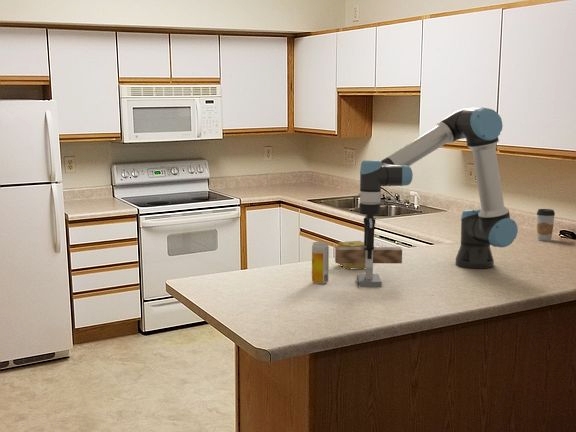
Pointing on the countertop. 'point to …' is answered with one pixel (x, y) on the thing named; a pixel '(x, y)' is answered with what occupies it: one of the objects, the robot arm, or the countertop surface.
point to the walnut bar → (359, 255)
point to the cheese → (352, 244)
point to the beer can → (320, 262)
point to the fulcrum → (369, 279)
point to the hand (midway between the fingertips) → (368, 265)
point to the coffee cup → (545, 224)
